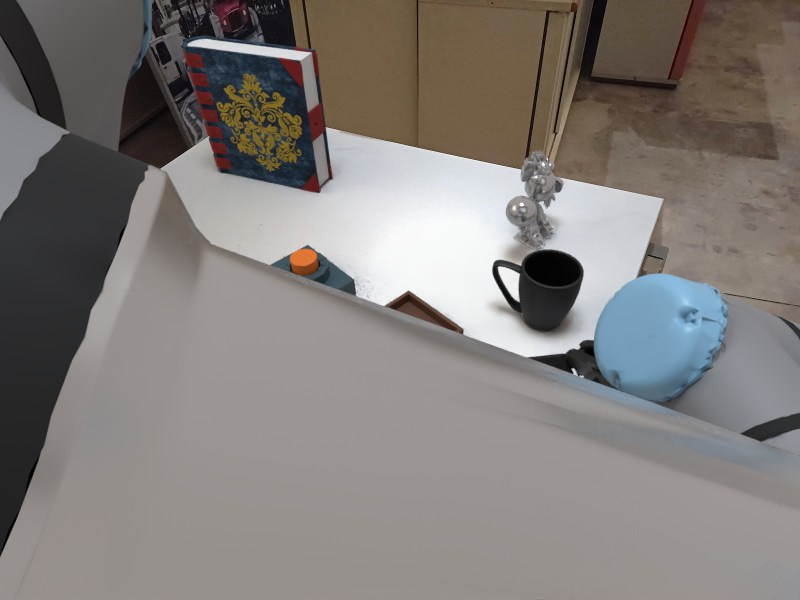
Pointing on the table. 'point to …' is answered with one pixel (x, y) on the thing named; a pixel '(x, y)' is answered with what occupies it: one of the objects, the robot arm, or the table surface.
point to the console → (323, 273)
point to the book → (261, 109)
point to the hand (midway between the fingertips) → (502, 391)
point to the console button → (304, 262)
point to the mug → (543, 287)
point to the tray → (422, 311)
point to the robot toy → (534, 200)
